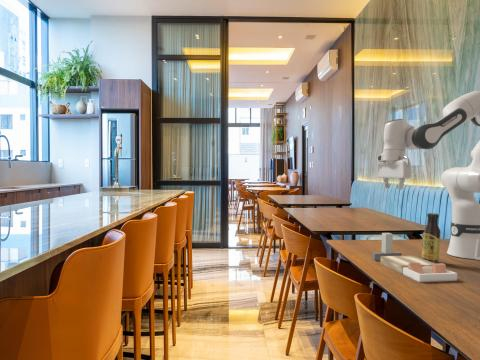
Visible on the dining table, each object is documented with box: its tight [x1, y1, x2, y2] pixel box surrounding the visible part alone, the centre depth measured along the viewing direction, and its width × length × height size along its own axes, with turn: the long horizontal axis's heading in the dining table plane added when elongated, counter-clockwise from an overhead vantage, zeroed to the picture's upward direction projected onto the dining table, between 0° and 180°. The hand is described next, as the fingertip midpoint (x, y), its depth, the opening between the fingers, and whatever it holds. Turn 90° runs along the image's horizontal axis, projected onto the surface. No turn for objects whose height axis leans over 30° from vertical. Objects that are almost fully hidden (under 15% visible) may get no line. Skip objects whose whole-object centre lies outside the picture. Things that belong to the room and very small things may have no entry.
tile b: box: [407, 263, 424, 274], centre depth 126 cm, size 4×4×2 cm
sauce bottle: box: [421, 212, 441, 264], centre depth 145 cm, size 6×6×20 cm
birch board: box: [379, 255, 436, 275], centre depth 136 cm, size 14×14×3 cm
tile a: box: [432, 262, 447, 274], centre depth 125 cm, size 4×4×2 cm
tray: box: [402, 266, 458, 283], centre depth 124 cm, size 14×9×2 cm, turn 99°
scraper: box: [371, 232, 403, 262], centre depth 148 cm, size 12×3×11 cm, turn 99°
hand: (393, 188), depth 156 cm, fingers open, 8 cm apart
